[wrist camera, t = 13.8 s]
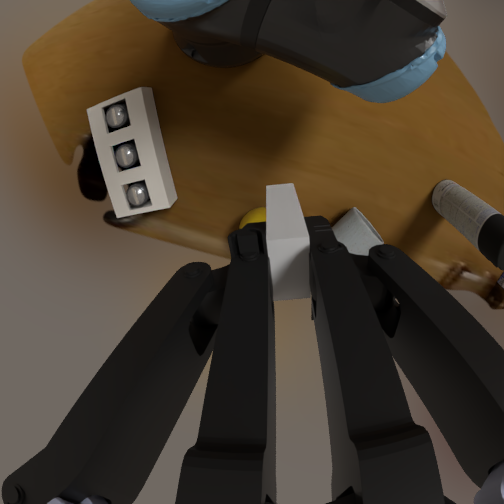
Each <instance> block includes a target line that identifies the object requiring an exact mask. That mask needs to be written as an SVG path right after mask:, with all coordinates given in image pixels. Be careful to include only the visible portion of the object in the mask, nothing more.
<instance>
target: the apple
mask: <svg viewBox="0 0 504 504" xmlns="http://www.w3.org/2000/svg"><path fill="white" fill-rule="evenodd" d="M264 221H266V208H264V207H260V208H256V209H253V210H251V211H249V212H248V213H247V214H246V215H245V216H244V217H243V218H242V220H241V222H240V226H239V229H242V228H243V227H244V226H245V225H246V224H247V223H254V222H264Z"/></svg>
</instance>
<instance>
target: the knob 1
mask: <svg viewBox="0 0 504 504" xmlns="http://www.w3.org/2000/svg"><path fill="white" fill-rule="evenodd" d="M106 122H107V124H108V125H109V126H110V127H112V128H117V127H121V126H125V125H129V124H131V123H130V118H129V114H128V109H127V104H118V105H113V106H111V107H110V108H109V109H108V110H107V112H106Z"/></svg>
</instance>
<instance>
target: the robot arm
mask: <svg viewBox="0 0 504 504" xmlns="http://www.w3.org/2000/svg"><path fill="white" fill-rule="evenodd" d="M130 1H131V3H132V4H133V5H134V6H136V7H137V8H138V9H139V11H140V12H142V13H143V15H145V16H146V17H147V18H149V19H153V20H155V21H157V22H159V23H161V24H162V25H164V26H165V27H167V28H169V29H170V30H172V31H173V36H174V39H175V41H176V43H177V45H178V46H179V48H180V49H181V50H182V51H183V52H184V53H185V54H186V55H187V56H189V57H190V58H192V59H194V60H196V61H197V62H199V63H202V64H204V65H208V66H212V67H220V68H227V67H236V66H240V65H244V64H247V63H249V62H251V61H253V60H255V59H257V58H259V57H260V56H261V55H263V54H266V55H268V56H271V57H274V58H276V59H279V60H282V61H284V62H287V63H289V64H291V65H294V66H296V67H299V68H301V69H303V70H305V71H308V72H310V73H312V74H314V75H316V76H318V77H321V78H323V79H325V80H327V81H329V82H330V83H331V85H332V86H334V87H336V88H338V89H341V90H346V91H348V92H350V93H352V94H354V95H356V96H358V97H360V98H362V99H364V100H366V101H369V102H377V103H387V102H391V101H395V100H398V99H400V98H402V97H404V96H406V95H408V94H409V93H411V92H413V91H414V90H415V89H417V88H418V87H419V86H421V85H422V84H423V83H424V82H425V81H426V80H427V79H428V78H429V77H430V76H431V75H432V74H433V72H434V71H435V70H436V68H437V67H438V65H437V63H436V62H437V61H438V60H440V59H442V58H443V56H444V53H445V50H446V38H445V36H444V34H443V32H442V30H441V28H440V27H439V25H440V23H441V22H442V21H443V20H444V19H445V18H446V17H447V13H446V9H445V5H444V2H443V0H130ZM228 243H229V248H230V253H231V262H230V264H229V265H227V266H225V267H222V268H219V269H215V270H211V267H210V265H208V264H207V263H204V262H192V263H189V264H187V265H185V266H183V267H181V268H180V269H179V270H178V271H177V272H176V273H175V274H174V275H173V277H172V278H171V279H170V280H169V281H168V283H167V284H166V285H165V286H164V287H163V289H162V290H161V291H160V292H159V293H158V295H157V296H156V297H155V299H154V300H153V301H152V302H151V303H150V305H149V306H148V307H147V308H146V310H145V311H144V312H143V313H142V315H141V316H140V317H139V318H138V320H137V321H136V322H135V323H134V325H133V326H132V327H131V329H130V330H129V331H128V332H127V334H126V335H125V336H124V338H123V339H122V340H121V342H120V343H119V344H118V346H117V347H116V348H115V349H114V351H113V352H112V353H111V355H110V356H109V357H108V359H107V360H106V361H105V363H104V364H103V365H102V367H101V368H100V369H99V371H98V372H97V374H96V375H95V376H94V378H93V379H92V380H91V382H90V383H89V385H88V386H87V387H86V389H85V390H84V392H83V393H82V394H81V396H80V397H79V399H78V400H77V402H76V403H75V404H74V406H73V407H72V409H71V410H70V412H69V413H68V415H67V416H66V417H65V419H64V420H63V422H62V423H61V425H60V426H59V428H58V429H57V431H56V432H55V434H54V435H53V437H52V438H51V440H50V442H49V443H48V445H47V446H46V447H45V448H44V449H43V450H42V451H40V452H39V453H38V454H36V455H35V456H34V457H33V458H31V459H30V460H29V461H28V462H26V463H25V464H24V465H22V466H21V467H20V468H19V469H17V470H16V471H15V472H13V473H12V474H11V475H9V476H8V477H7V478H6V479H5V481H4V482H3V486H2V499H3V502H4V504H132V503H133V502H134V501H135V499H136V498H137V496H138V494H139V493H140V491H141V490H142V488H143V486H144V484H145V482H146V480H147V479H148V477H149V475H150V473H151V471H152V469H153V467H154V465H155V463H156V461H157V459H158V457H159V455H160V454H161V451H162V450H163V448H164V446H165V443H166V442H167V440H168V438H169V436H170V434H171V432H172V430H173V428H174V426H175V424H176V422H177V420H178V418H179V416H180V414H181V413H182V411H183V409H184V407H185V405H186V403H187V401H188V399H189V397H190V395H191V393H192V391H193V389H194V387H195V385H196V383H197V381H198V379H199V377H200V375H201V373H202V371H203V369H204V367H205V365H206V363H207V361H208V359H209V357H210V355H211V353H212V351H213V355H212V360H211V365H210V371H209V376H208V382H207V387H206V393H205V399H204V404H203V410H202V416H201V421H200V427H199V433H198V438H197V442H196V444H195V445H194V446H193V447H191V448H189V449H188V450H187V452H186V454H185V456H184V459H183V463H182V467H181V473H180V478H179V484H178V490H177V497H176V502H175V504H276V470H275V469H276V377H275V376H276V372H275V319H274V318H275V317H274V302H273V301H278V300H290V299H301V298H310V297H311V295H312V317H311V318H312V320H314V323H315V329H316V335H317V342H318V348H319V354H320V361H321V368H322V376H323V383H324V390H325V399H326V407H327V416H328V425H329V434H330V444H331V455H332V467H333V470H332V484H331V485H332V502H329V503H326V504H456V503H455V502H453V501H452V500H450V499H448V498H447V497H446V496H444V495H443V489H442V484H441V479H440V474H439V469H438V465H437V460H436V456H435V452H434V448H433V444H432V441H431V438H430V436H429V433H428V431H426V429H425V428H424V427H423V426H420V425H416V424H415V423H414V421H413V419H412V417H411V413H410V410H409V407H408V403H407V400H406V396H405V393H404V390H403V387H402V384H401V380H400V378H399V375H398V371H397V369H396V366H395V363H394V360H393V358H394V359H395V361H396V362H397V364H398V365H399V366H400V368H401V369H402V371H403V372H404V374H405V375H406V377H407V378H408V380H409V381H410V383H411V384H412V386H413V388H414V389H415V391H416V392H417V394H418V395H419V397H420V399H421V400H422V402H423V403H424V405H425V406H426V408H427V409H428V411H429V413H430V414H431V416H432V418H433V419H434V421H435V423H436V424H437V426H438V428H439V429H440V431H441V433H442V434H443V436H444V438H445V439H446V441H447V443H448V445H449V446H450V448H451V450H452V452H453V453H454V455H455V457H456V459H457V460H458V462H459V464H460V465H461V467H462V468H463V470H464V472H465V473H466V474H467V475H468V476H469V478H470V479H471V480H472V481H473V482H474V483H475V484H476V485H477V486H478V487H480V488H481V490H480V491H478V492H477V494H476V495H475V498H474V504H504V350H503V349H502V347H501V346H500V345H499V344H498V343H497V342H496V341H495V339H494V338H493V337H492V336H491V335H490V334H489V333H488V332H487V331H486V330H485V329H484V328H483V327H482V325H481V324H480V323H479V322H478V321H477V320H476V319H475V318H474V317H473V316H472V315H471V314H470V313H469V312H468V311H467V310H466V309H465V308H464V307H463V306H462V305H461V304H460V303H459V302H458V301H457V300H456V299H455V298H454V297H453V296H452V295H451V294H449V292H448V291H446V290H445V289H444V288H443V287H442V286H441V285H440V284H439V283H438V282H437V281H436V280H435V279H433V278H432V277H431V276H430V275H429V274H428V273H427V272H426V271H425V270H423V269H422V268H421V267H420V266H419V265H418V264H416V263H415V262H414V261H413V260H412V259H411V258H409V257H408V256H407V255H406V254H405V253H404V252H402V251H401V250H400V249H398V248H396V247H394V246H391V245H388V244H386V245H385V244H381V245H375V246H373V247H371V248H370V249H369V253H368V256H367V255H357V254H352V253H349V251H348V249H347V247H346V246H345V245H344V244H343V243H341V242H339V241H337V239H336V236H335V234H334V232H333V230H332V228H331V226H330V224H329V222H328V220H327V219H326V218H324V217H323V216H311V217H303V214H302V210H301V207H300V204H299V201H298V198H297V194H296V191H295V188H294V185H293V183H289V184H278V185H268V186H266V221H264V222H254V223H247V224H246V225H245V226H244V227H243V228H242V229H238V230H236V231H234V232H232V233H231V234H230V235H229V236H228ZM395 298H396V299H397V300H398V302H399V304H398V303H397V302H396V300H395ZM392 356H393V357H392Z"/></svg>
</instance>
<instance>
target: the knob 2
mask: <svg viewBox="0 0 504 504" xmlns="http://www.w3.org/2000/svg"><path fill="white" fill-rule="evenodd" d="M126 196H127V199H128V201H129V202H130V204H132V205H133V206H142V205H143V204H144V203H145V202H146V201H148V200H149V199H150V196H149V192H148V189H147V185H146V182H145V179H144V180H140V181H137V182H135V183H134V184H133V185H131V186H130V187H129V188H128V190H127V193H126Z"/></svg>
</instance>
